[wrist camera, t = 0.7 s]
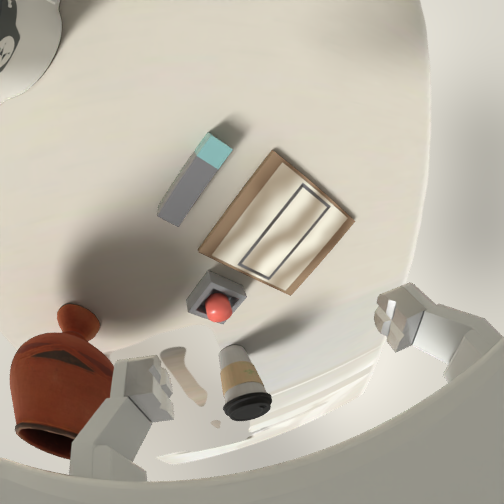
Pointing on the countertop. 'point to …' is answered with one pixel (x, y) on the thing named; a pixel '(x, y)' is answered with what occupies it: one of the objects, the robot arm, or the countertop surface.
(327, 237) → the drawing board
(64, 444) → the goblet
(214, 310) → the button
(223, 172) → the countertop surface
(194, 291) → the button housing
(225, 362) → the coffee cup
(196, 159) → the block
